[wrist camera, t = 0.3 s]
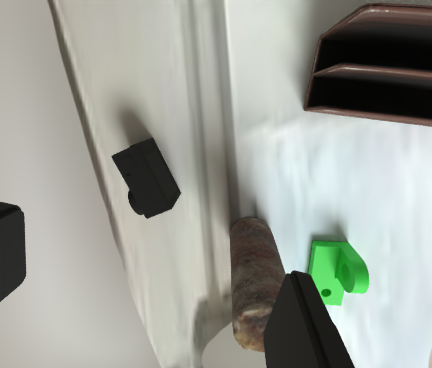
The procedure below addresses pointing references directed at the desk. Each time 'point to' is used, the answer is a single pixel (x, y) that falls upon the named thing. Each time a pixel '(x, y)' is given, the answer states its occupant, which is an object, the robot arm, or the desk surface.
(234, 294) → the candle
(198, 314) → the desk surface
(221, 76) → the desk surface
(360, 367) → the desk surface
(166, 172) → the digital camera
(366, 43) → the letter holder
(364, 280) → the mechanical part
